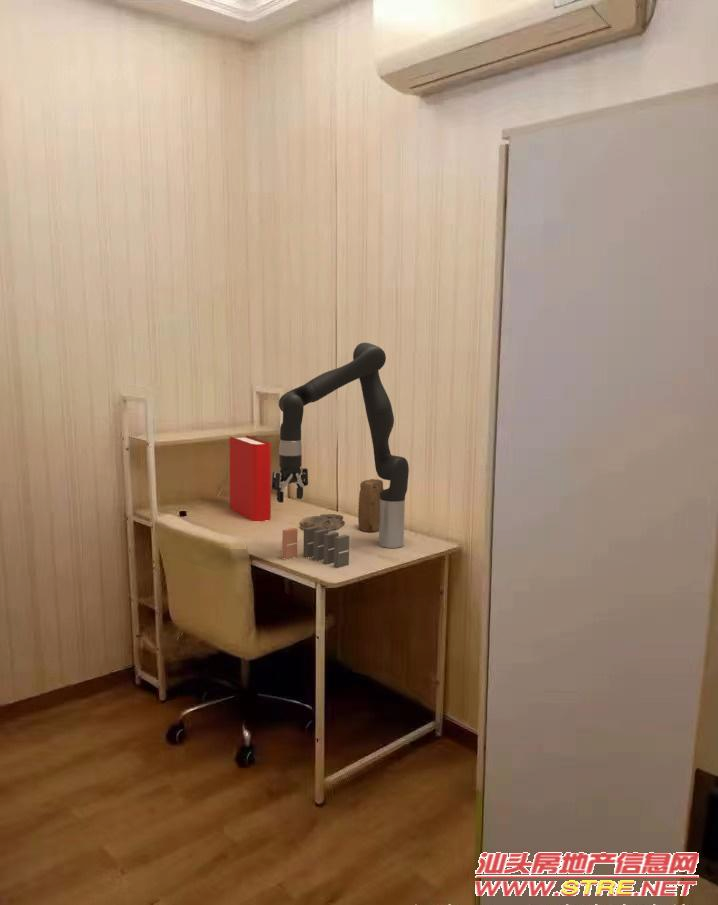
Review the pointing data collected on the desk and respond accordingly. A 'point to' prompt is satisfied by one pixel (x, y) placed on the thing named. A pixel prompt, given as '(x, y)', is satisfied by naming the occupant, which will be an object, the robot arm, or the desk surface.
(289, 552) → the domino
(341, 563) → the domino
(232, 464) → the book
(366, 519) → the block
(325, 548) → the domino
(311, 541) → the domino
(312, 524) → the flat rock
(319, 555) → the domino
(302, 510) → the desk surface
